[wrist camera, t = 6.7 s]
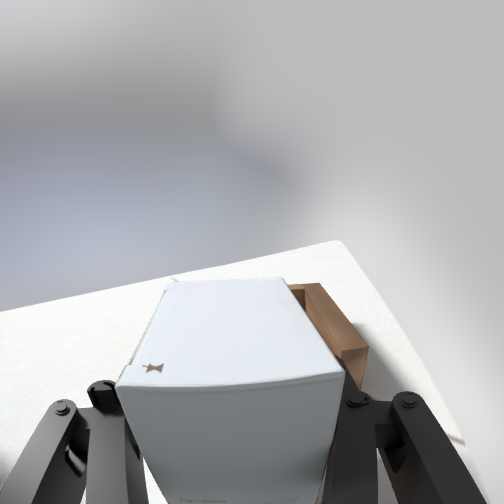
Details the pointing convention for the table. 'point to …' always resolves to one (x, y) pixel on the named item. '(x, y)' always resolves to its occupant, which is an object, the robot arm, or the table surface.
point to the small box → (233, 394)
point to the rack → (333, 327)
